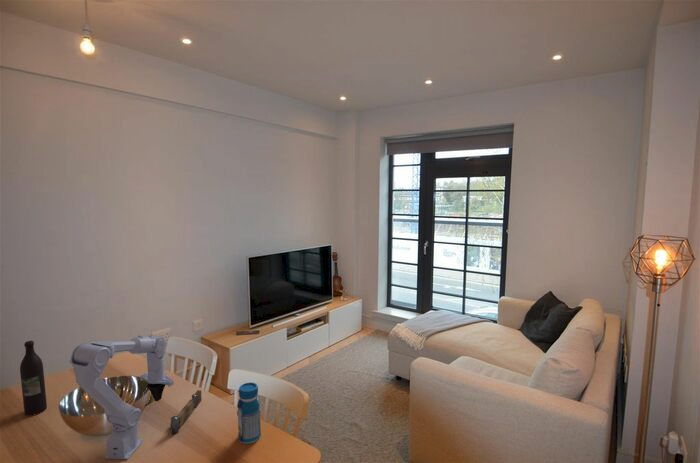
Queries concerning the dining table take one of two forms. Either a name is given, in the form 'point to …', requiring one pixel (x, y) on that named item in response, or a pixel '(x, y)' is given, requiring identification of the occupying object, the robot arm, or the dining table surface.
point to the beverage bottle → (248, 414)
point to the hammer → (174, 419)
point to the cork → (143, 387)
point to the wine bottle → (32, 381)
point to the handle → (185, 413)
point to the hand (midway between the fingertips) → (157, 399)
